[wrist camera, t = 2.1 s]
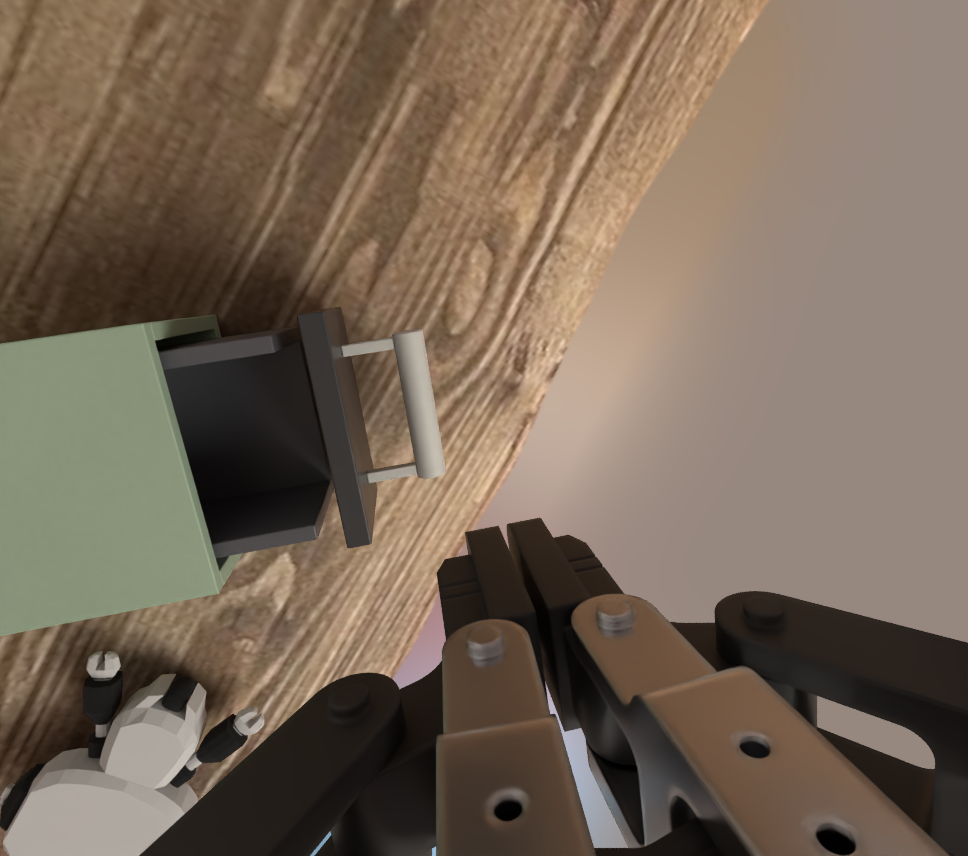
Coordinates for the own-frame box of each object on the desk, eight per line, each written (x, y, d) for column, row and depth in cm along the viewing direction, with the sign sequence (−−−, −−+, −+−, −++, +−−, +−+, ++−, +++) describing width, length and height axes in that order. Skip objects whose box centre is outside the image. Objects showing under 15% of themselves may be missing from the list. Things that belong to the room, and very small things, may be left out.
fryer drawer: (414, 295, 34) (419, 296, 26) (445, 477, 37) (457, 528, 29) (97, 342, 32) (-2, 358, 24) (154, 530, 35) (82, 600, 27)
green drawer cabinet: (215, 314, 34) (142, 322, 24) (266, 514, 37) (218, 594, 27) (-55, 354, 32) (-251, 379, 23) (21, 559, 35) (-123, 660, 26)
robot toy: (109, 618, 38) (1, 810, 38) (74, 656, 33) (-47, 872, 34) (284, 689, 41) (181, 866, 41) (273, 732, 36) (158, 930, 37)
